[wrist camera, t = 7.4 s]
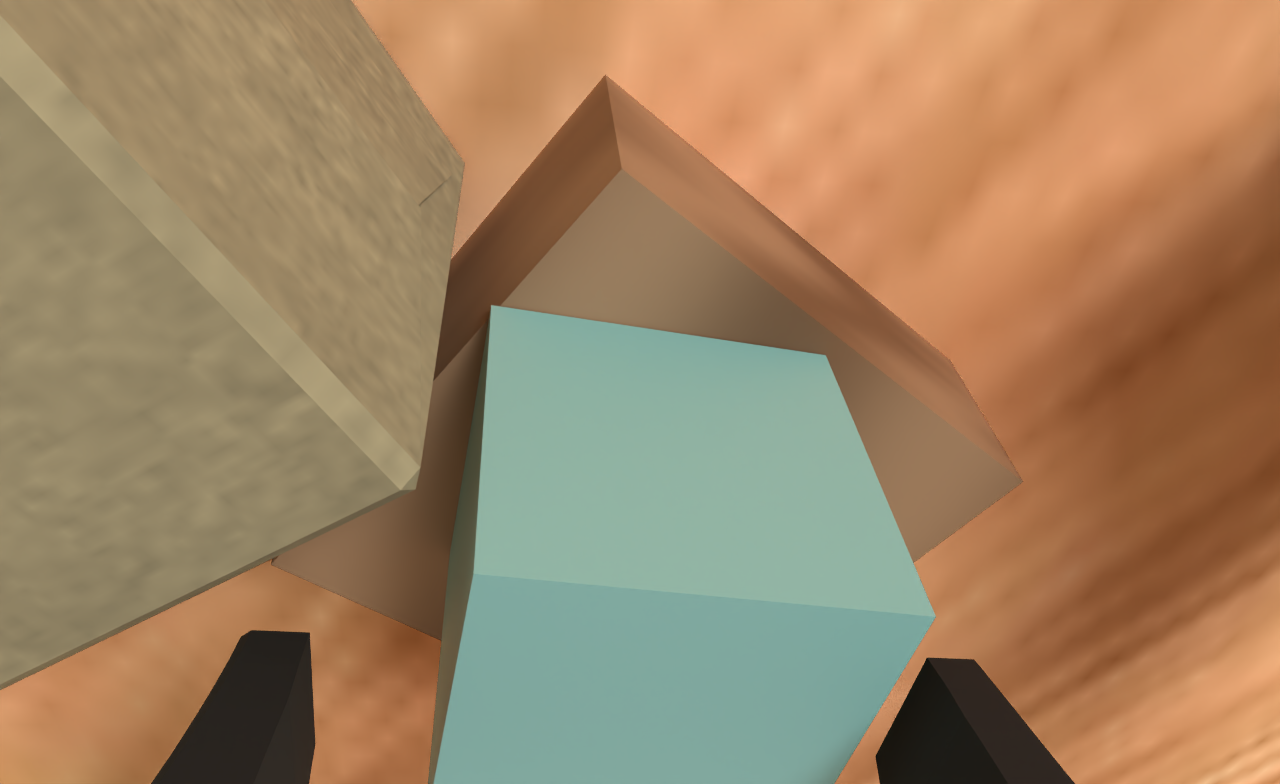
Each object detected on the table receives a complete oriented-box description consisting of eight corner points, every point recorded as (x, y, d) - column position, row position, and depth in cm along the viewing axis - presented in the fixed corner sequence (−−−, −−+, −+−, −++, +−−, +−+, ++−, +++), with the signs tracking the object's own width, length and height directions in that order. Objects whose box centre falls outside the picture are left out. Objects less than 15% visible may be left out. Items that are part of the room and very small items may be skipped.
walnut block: (944, 350, 20) (1022, 481, 17) (651, 595, 23) (669, 742, 20) (604, 67, 16) (621, 169, 12) (314, 416, 19) (270, 564, 16)
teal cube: (825, 355, 15) (936, 616, 11) (731, 582, 17) (790, 855, 13) (491, 305, 14) (473, 574, 10) (450, 554, 16) (422, 841, 12)
